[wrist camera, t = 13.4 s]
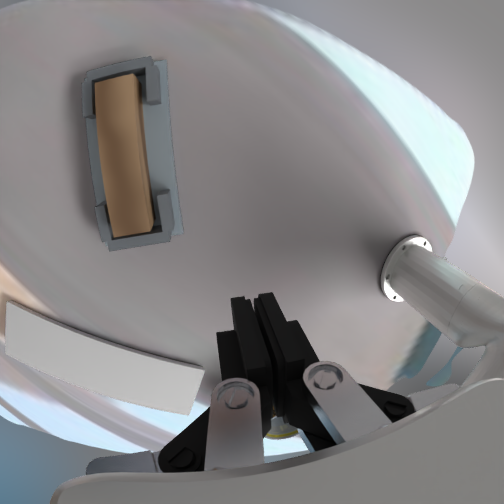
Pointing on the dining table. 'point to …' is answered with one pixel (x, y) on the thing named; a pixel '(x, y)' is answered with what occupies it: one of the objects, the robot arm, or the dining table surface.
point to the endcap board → (156, 146)
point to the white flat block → (100, 363)
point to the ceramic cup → (280, 429)
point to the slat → (124, 155)
